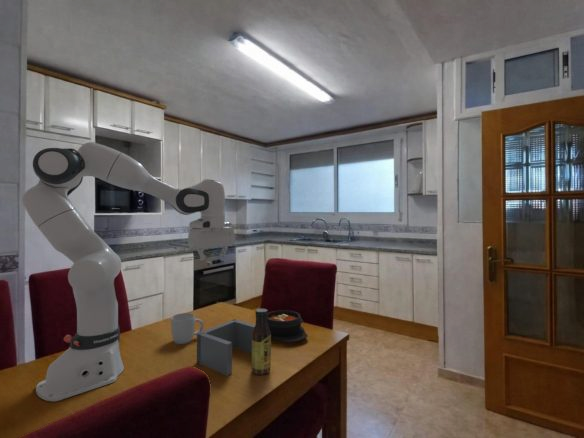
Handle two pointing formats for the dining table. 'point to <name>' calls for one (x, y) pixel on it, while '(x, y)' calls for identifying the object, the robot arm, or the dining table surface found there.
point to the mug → (184, 327)
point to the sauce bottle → (261, 344)
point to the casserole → (286, 326)
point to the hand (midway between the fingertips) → (213, 259)
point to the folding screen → (223, 344)
